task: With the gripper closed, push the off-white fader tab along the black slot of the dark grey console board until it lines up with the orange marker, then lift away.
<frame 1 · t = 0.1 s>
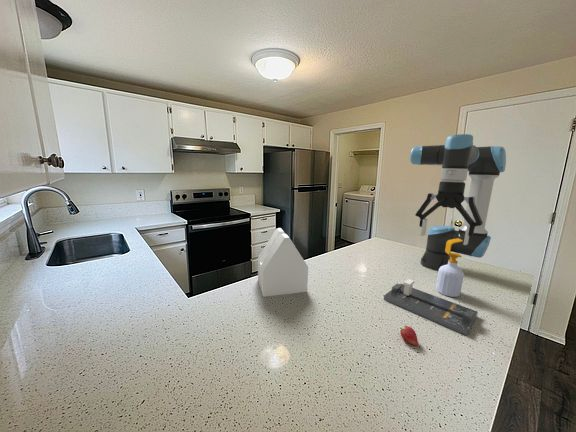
hand: (443, 239, 86), 28 cm above the countertop, fingers open, 13 cm apart
fruit: (408, 341, 74), on the countertop
white toy house: (281, 286, 107), on the countertop
console: (427, 307, 92), on the countertop
fader: (408, 287, 97), point 5 cm above the countertop, slide at 0.0 cm
soap bottle: (447, 292, 105), on the countertop
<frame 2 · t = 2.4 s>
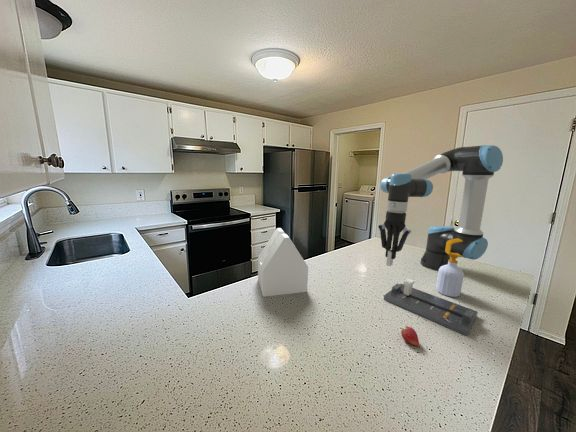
hand: (389, 264, 101), 12 cm above the countertop, fingers closed
nothing on the countertop moved.
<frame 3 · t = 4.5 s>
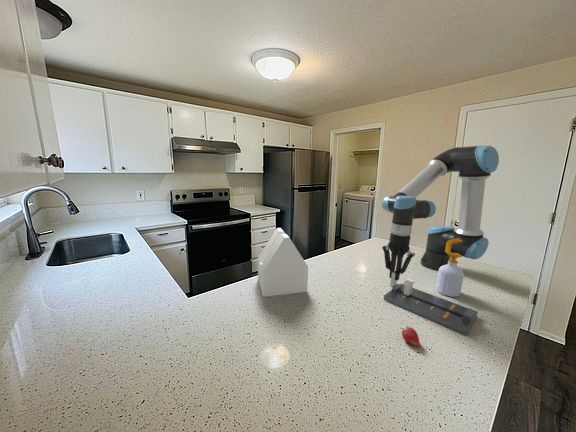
hand: (393, 285, 102), 3 cm above the countertop, fingers closed
nothing on the countertop moved.
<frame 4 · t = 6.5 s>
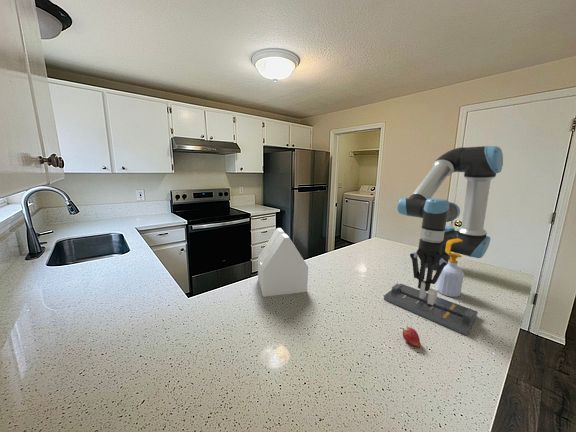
hand: (422, 297, 93), 4 cm above the countertop, fingers closed
fader: (432, 296, 90), point 5 cm above the countertop, slide at 9.0 cm, touching gripper
everything else where it was.
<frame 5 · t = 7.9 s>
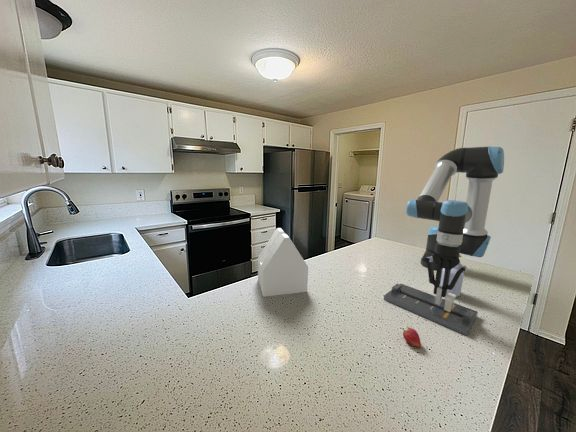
hand: (438, 303, 89), 3 cm above the countertop, fingers closed
fader: (449, 302, 86), point 5 cm above the countertop, slide at 14.5 cm, touching gripper
everything else where it was.
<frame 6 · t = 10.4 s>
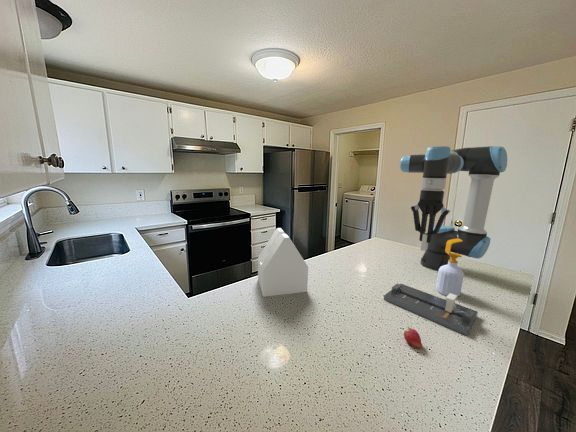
hand: (423, 249, 92), 22 cm above the countertop, fingers closed
fader: (450, 303, 86), point 5 cm above the countertop, slide at 14.9 cm
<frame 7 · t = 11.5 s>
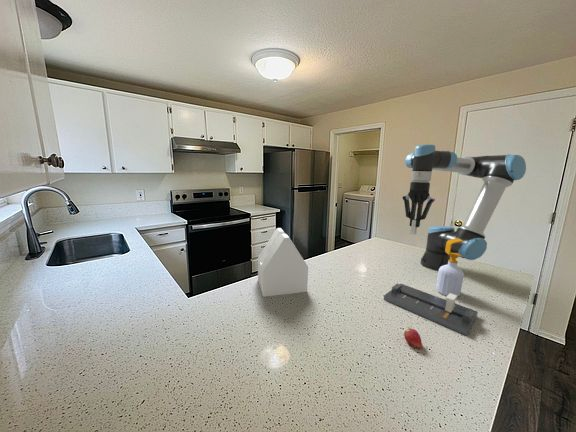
hand: (413, 233, 107), 24 cm above the countertop, fingers closed
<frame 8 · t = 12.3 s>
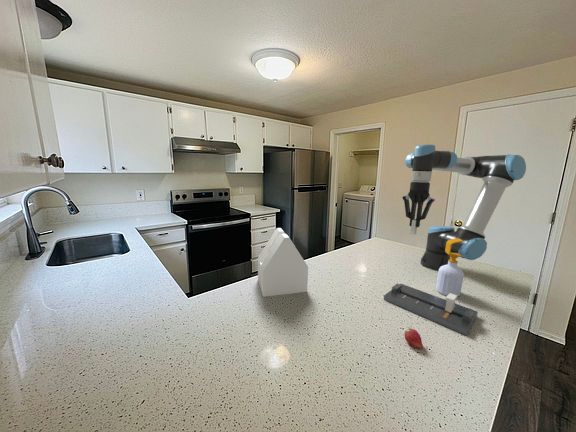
hand: (413, 233, 107), 24 cm above the countertop, fingers closed
at the end: fader slide at 14.9 cm; fader moved 14.9 cm from its start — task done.
